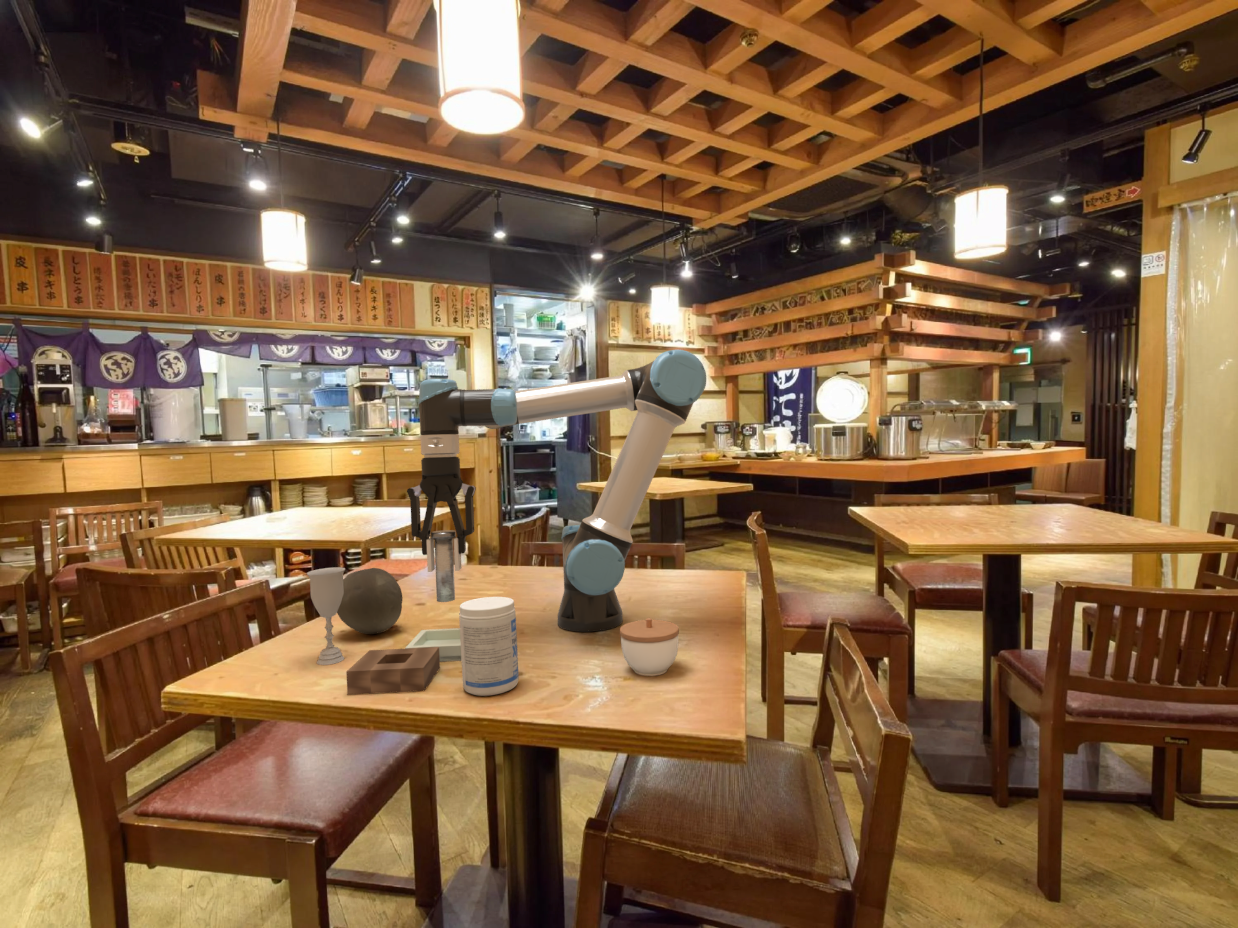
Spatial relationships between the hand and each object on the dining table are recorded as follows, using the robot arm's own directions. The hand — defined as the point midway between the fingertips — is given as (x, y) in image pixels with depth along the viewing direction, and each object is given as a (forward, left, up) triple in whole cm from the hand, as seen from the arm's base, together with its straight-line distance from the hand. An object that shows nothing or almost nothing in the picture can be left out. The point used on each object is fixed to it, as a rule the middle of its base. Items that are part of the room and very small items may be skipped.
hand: (444, 569), depth 126 cm
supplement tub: (-12, +20, -17) cm, 29 cm away
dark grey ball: (+21, -15, -17) cm, 31 cm away
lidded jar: (-40, +16, -17) cm, 46 cm away
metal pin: (0, 0, -6) cm, 6 cm away
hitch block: (+6, +15, -17) cm, 23 cm away
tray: (0, 0, -17) cm, 17 cm away
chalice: (+23, +2, -17) cm, 29 cm away
